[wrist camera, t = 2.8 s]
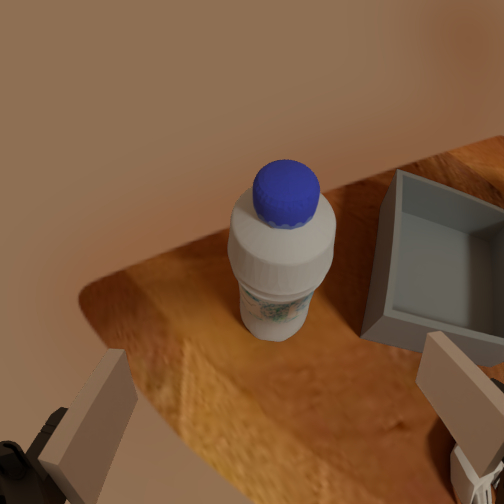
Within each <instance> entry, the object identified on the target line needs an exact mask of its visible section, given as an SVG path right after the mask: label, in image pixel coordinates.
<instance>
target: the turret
mask: <svg viewBox="0 0 504 504" xmlns="http://www.w3.org/2000/svg"><path fill="white" fill-rule="evenodd" d="M450 463H451V483H452V485H453V487H454V489H455V491H456V493H457V495H458V497H459V499H460V501H461V503H462V504H471V503H472V504H492V498H491V487H490V484H491V483H492V485H493V482H494V480H495V479H496V477H497V476H498V474H499V473H500V472H501V470H502V469H503V467H504V464H503V462H502V461H501V462H500V464H499V465H498V467H497V468H496V469H495V471H494V472H492V473H490V474H488V475H486V476H484V477H482V478H480V479H479V477H478V475H477V474H476V472H475V471H474V469H473V467H472V466H471V464H470V463H469V461H468V459H467V458H466V456H465V455H464V453H463V452H462V450H461V448H460V447H459V445H458V444H457V442H456V444H455V446H454V448H453V450H452V452H451V454H450ZM498 482H500V479H499V480H498V481H497V482H496V484H495V485H493V487H494V489H496V486H497V484H498Z"/></svg>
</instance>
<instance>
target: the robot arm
mask: <svg viewBox="0 0 504 504" xmlns="http://www.w3.org/2000/svg"><path fill="white" fill-rule="evenodd" d="M416 383H417V385H418V386H419V388H420V389H421V391H422V392H423V393H424V395H425V396H426V398H427V399H428V401H429V402H430V404H431V405H432V406H433V408H434V409H435V411H436V412H437V414H438V415H439V417H440V418H441V420H442V421H443V423H444V424H445V426H446V427H447V429H448V430H449V432H450V433H451V435H452V436H453V438H454V439H455V441H456V442H457V444H458V445H459V447H460V448H461V450H462V452H463V453H464V455H465V456H466V458H467V459H468V461H469V463H470V464H471V466H472V467H473V469H474V471H475V472H476V474H477V475H478V477H479V479H480V478H482V477H484V476H486V475H488V474H490V473H492V472H494V471H495V469H496V468H497V467H498V465H499V464H500V462H501V461H502V462H503V464H504V384H503V383H501V382H499V381H497V380H496V379H494V378H491V379H489V378H488V377H487V376H486V375H485V374H484V373H483V372H482V371H481V370H480V369H479V368H478V367H477V366H476V365H475V364H474V363H473V362H472V361H471V360H470V359H469V358H468V357H467V356H466V355H465V354H464V353H463V352H462V351H461V350H460V349H459V348H458V347H457V346H456V345H455V344H454V343H453V342H452V341H451V340H450V339H449V338H448V337H447V336H446V335H445V334H444V333H443V332H442V331H436V332H430V333H427V337H426V341H425V346H424V350H423V354H422V359H421V363H420V367H419V370H418V374H417V378H416ZM137 400H138V397H137V394H136V390H135V386H134V383H133V379H132V376H131V372H130V368H129V364H128V360H127V357H126V353H125V350H124V349H108V351H107V352H106V354H105V355H104V356H103V358H102V359H101V361H100V362H99V364H98V365H97V367H96V368H95V370H94V371H93V373H92V374H91V376H90V377H89V379H88V380H87V382H86V383H85V385H84V386H83V387H82V389H81V391H80V392H79V394H78V395H77V397H76V398H75V400H74V401H73V403H72V404H71V406H70V407H69V408H63V407H60V408H59V409H58V410H56V411H55V412H54V413H52V414H51V416H50V417H49V418H48V420H47V422H46V423H45V425H44V426H43V427H42V429H41V432H40V433H38V435H37V436H36V438H35V440H34V441H33V443H32V444H31V446H30V447H29V449H28V450H27V452H26V454H25V453H24V452H23V450H22V449H21V447H20V446H19V445H18V444H17V443H16V442H12V441H2V442H0V504H64V503H65V501H66V499H67V500H68V501H69V502H70V503H71V504H96V503H97V500H98V497H99V495H100V492H101V489H102V487H103V484H104V481H105V479H106V476H107V474H108V471H109V469H110V466H111V464H112V461H113V458H114V456H115V453H116V451H117V448H118V446H119V443H120V441H121V438H122V436H123V434H124V431H125V429H126V426H127V424H128V422H129V419H130V417H131V415H132V412H133V409H134V407H135V405H136V403H137ZM499 479H500V482H499V484H498V485H499V487H498V492H497V496H496V501H495V504H504V467H503V469H502V470H501V472H500V473H499V474H498V476H497V477H496V479H495V480H494V482H493V485H495V484H496V482H497V481H498V480H499Z"/></svg>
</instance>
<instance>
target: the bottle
mask: <svg viewBox="0 0 504 504" xmlns="http://www.w3.org/2000/svg"><path fill="white" fill-rule="evenodd" d="M335 231H336V219H335V215H334V212H333V209H332V207H331V205H330V204H329V202H328V201H327V199H326V198H325V197H324V196H323V195H322V194H321V193H320V186H319V182H318V179H317V177H316V176H315V174H314V173H313V172H312V171H311V169H309V168H308V167H307V166H306V165H304V164H302V163H300V162H297V161H293V160H277V161H274V162H271V163H269V164H267V165H266V166H264V167H263V168H262V169H261V170H260V171H259V172H258V174H257V175H256V177H255V179H254V182H253V186H252V187H251V188H249V189H248V190H246V191H245V192H244V193H243V194H242V195H241V196H240V198H239V199H238V200H237V202H236V203H235V206H234V208H233V211H232V214H231V223H230V233H229V240H228V256H229V260H230V263H231V267H232V270H233V273H234V275H235V277H236V279H237V280H238V283H239V290H240V313H241V318H242V320H243V322H244V324H245V326H246V327H247V329H248V330H249V331H250V332H251V333H252V334H253V335H254V336H255V337H257V338H258V339H262V340H269V341H278V342H280V341H283V340H286V339H287V338H289V337H290V336H292V335H294V334H295V333H296V332H297V331H298V330H299V329H300V328H301V326H302V325H303V323H304V321H305V318H306V315H307V312H308V307H309V303H310V300H311V298H312V295H313V292H314V290H315V289H316V288H317V287H318V286H319V285H320V284H321V282H322V281H323V279H324V278H325V275H326V274H327V272H328V270H329V268H330V266H331V263H332V259H333V248H334V240H335Z"/></svg>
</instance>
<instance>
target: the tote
mask: <svg viewBox="0 0 504 504" xmlns="http://www.w3.org/2000/svg"><path fill="white" fill-rule="evenodd" d="M436 331H442V332H443V333H444V334H445V335H446V336H447V337H448V338H449V339H450V340H451V341H452V342H453V343H454V344H455V345H456V346H457V347H458V348H459V349H460V350H461V351H462V352H463V353H464V354H465V355H466V356H467V357H468V358H469V359H470V360H471V361H472V362H473V363H474V364H477V365H482V366H487V367H492V366H495V365H497V364H500V363H502V362H504V209H502V208H500V207H498V206H495V205H493V204H491V203H488V202H486V201H484V200H481V199H479V198H476V197H474V196H471V195H469V194H466V193H464V192H461V191H459V190H456V189H454V188H451V187H448V186H446V185H443V184H440V183H437V182H435V181H432V180H429V179H426V178H423V177H420V176H417V175H415V174H412V173H409V172H405V171H402V170H399V169H397V170H396V172H395V175H394V177H393V179H392V182H391V184H390V186H389V188H388V191H387V193H386V195H385V197H384V199H383V202H382V204H381V206H380V214H379V223H378V232H377V240H376V247H375V254H374V261H373V268H372V275H371V281H370V287H369V293H368V298H367V304H366V309H365V314H364V319H363V324H362V329H361V334H360V338H362V339H366V340H370V341H374V342H378V343H382V344H386V345H390V346H395V347H399V348H403V349H407V350H411V351H416V352H420V353H423V350H424V346H425V341H426V337H427V333H430V332H436Z"/></svg>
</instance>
